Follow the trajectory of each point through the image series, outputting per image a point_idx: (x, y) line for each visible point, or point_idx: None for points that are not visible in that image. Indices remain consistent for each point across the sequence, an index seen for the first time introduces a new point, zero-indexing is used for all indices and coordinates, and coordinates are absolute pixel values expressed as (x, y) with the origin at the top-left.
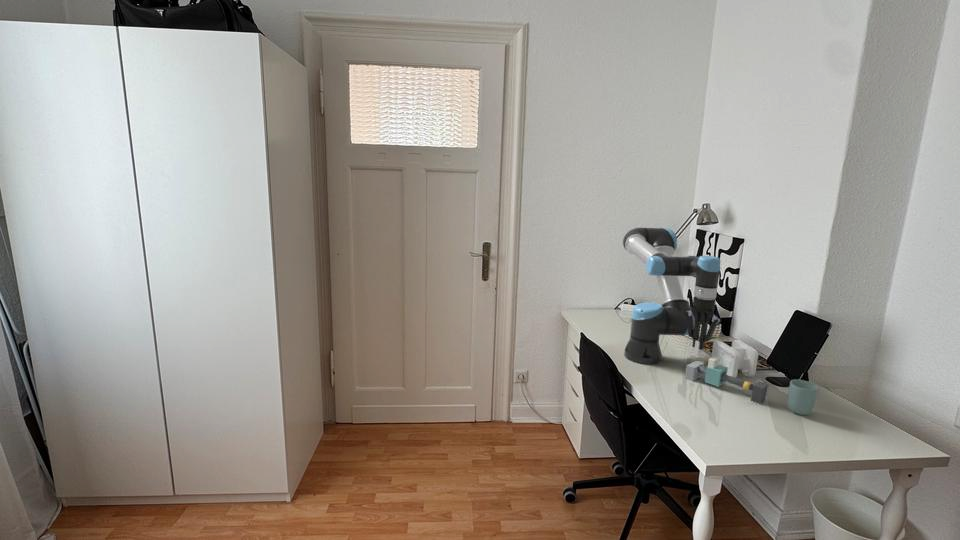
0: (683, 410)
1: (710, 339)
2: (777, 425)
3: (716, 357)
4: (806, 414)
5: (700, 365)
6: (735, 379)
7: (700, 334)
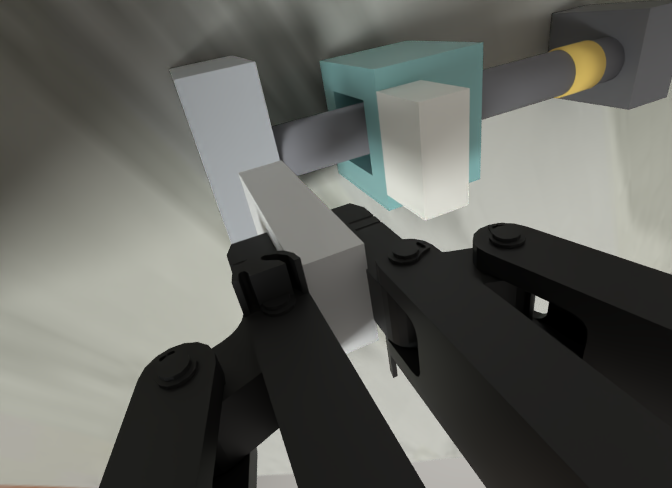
0: (423, 401)
1: (530, 238)
2: (635, 183)
3: (446, 109)
4: None
5: (273, 140)
6: (527, 101)
7: (452, 435)
